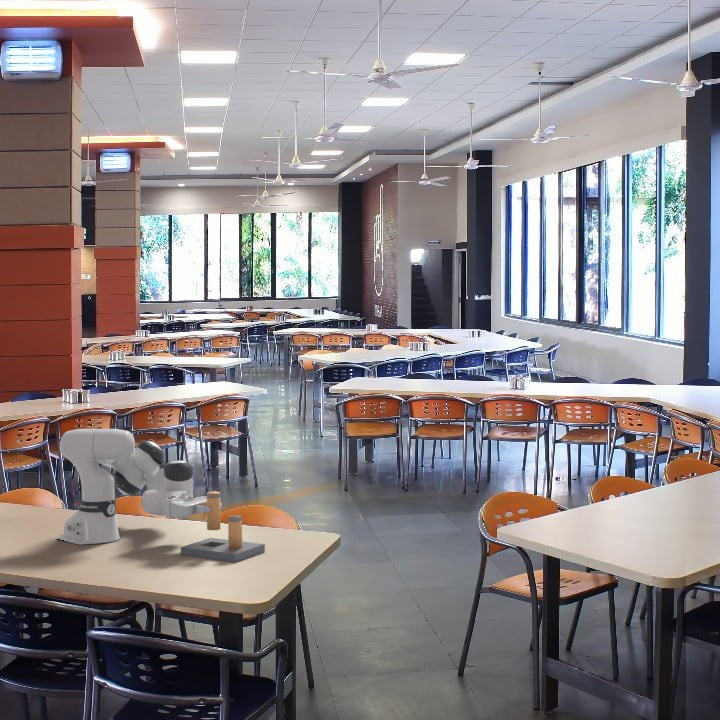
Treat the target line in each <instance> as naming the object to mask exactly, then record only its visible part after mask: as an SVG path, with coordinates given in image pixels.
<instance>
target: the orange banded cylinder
mask: <svg viewBox="0 0 720 720" xmlns="http://www.w3.org/2000/svg"><path fill="white" fill-rule="evenodd" d="M205 496H206V497H207V506H211V510H212V511H211V512H206V530H207V531H219V530H221V509H220V498H221V492H220V491H207V492H206V495H205Z"/></svg>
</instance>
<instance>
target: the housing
mask: <svg viewBox="0 0 720 720" xmlns="http://www.w3.org/2000/svg"><path fill="white" fill-rule="evenodd" d="M227 520H228V521H227V522H228V524H227V526H228V529H227V531H228V532H227V533H228V534H227V535H228V537H227V538H228V539H223V538H216V537H215V538H213V537H209V538H206V539H203V540H199V541H196V542H193V543H189V544H186V545H183V546H180V555H181V556H188V557H195V558H202V559H210V560H218V561H226V562H235V563H237V562H240V561H243V560H246V559H248V558H251V557H253V556H257V555H259V554H262V553H265V552H266V546H265V543H258V542H252V541H251V542H250V541H243V516H242V515H239V514H234V515H228V516H227Z"/></svg>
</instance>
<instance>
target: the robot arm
mask: <svg viewBox="0 0 720 720" xmlns="http://www.w3.org/2000/svg"><path fill="white" fill-rule="evenodd" d="M59 449H60V453H61V454H62V455H63V457H64V458H66V459H67V460H69V462H71V463H72V465H73V466H74V467H75V469H76V470H77V473H78V474H79V479H80V483H81V484H80V485H81V500H80V501H77V502H76V506H78V509H77V511H76V512H75V513H73V515H72V516H70V517H69V518H67V519H66V520H65V522H64V526H63V533H62V534H59V535H57V536H56V540H57V539H60V540H59V541H61V540H64V541H63V542H66V541H67V543H69V544H75V545H78V546H79V545H80V546H81V545H89V544H90V545H91V544H92V545H93V544H94V545H95V544H103V543H104V544H105V543H106V544H107V543H111V542H116V541H118V540H120V539H121V537H120V531H119V526H118V521H117V514H116V511H117V500H116V498H115V487H116V488H117V489H118V491H119V492H120V493H121V494H122V495H126V496H129V497H130V496H131V497H135V496H137V495H138V494H139V493H140V492H141V491H142V489H143V487H144V486H145V485H146V486H147V490H144V491H143V493H142V496H141V499H140V501H141V509H142V510H143V511H144V512H145V513H147V514H149V515H154V516H159V517H165V519H188V517H189V518H190V516H193V515H196V514H197V515H198V514H200V513H201V514H202V513H207V512H211V511H212V510H211V506H207V497H206V495H205V496H204V495H203V496H198V497H194V478H193V477H194V466H193V465H192V464H191V463H190V462H189V461H186V460H174V461H170V462H165V461H164V459H165V456H164V451H163V450H162V449H161V447H160V446H159V444H157V443H156V442H154V441H152V440H151V441H150V440H142V441H141V442H139V443H138V444H137V446H136V440H135V437H134V436H133V434H132V432H130V431H129V430H125V429H119V428H77V429H76V428H75V429H72V430H67V431H65V432H64V433H63V435H61V438H60V441H59ZM99 464H101V465H102V466H105V467H107V468H111V469H115V472H112V473H110V471H107V470H105V469H103V468H102V467H101V466H100V465H99ZM222 509H223V504H222V499H221V497H220V510H222Z"/></svg>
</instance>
